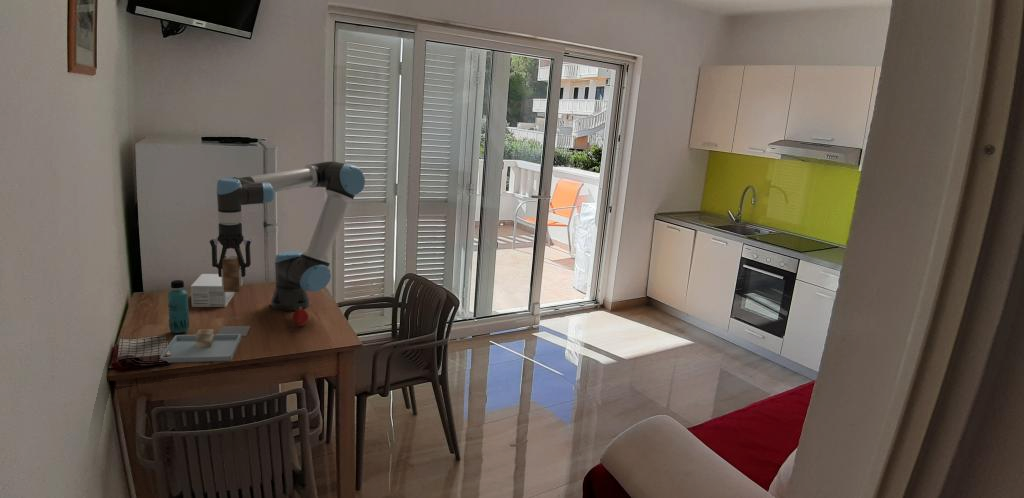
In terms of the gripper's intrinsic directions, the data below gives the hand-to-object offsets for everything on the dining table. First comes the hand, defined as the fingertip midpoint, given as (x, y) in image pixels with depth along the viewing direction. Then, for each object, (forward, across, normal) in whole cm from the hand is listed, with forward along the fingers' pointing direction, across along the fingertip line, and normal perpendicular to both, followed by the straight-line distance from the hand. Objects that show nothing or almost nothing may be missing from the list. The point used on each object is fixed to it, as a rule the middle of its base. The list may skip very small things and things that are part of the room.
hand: (232, 285), depth 216 cm
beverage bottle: (+19, +18, 0) cm, 26 cm away
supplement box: (+19, +14, -37) cm, 44 cm away
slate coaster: (+19, 0, 0) cm, 19 cm away
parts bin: (+18, +7, +16) cm, 25 cm away
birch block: (+18, +7, +12) cm, 23 cm away
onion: (+19, -23, -5) cm, 30 cm away
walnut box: (+2, 0, 0) cm, 2 cm away
